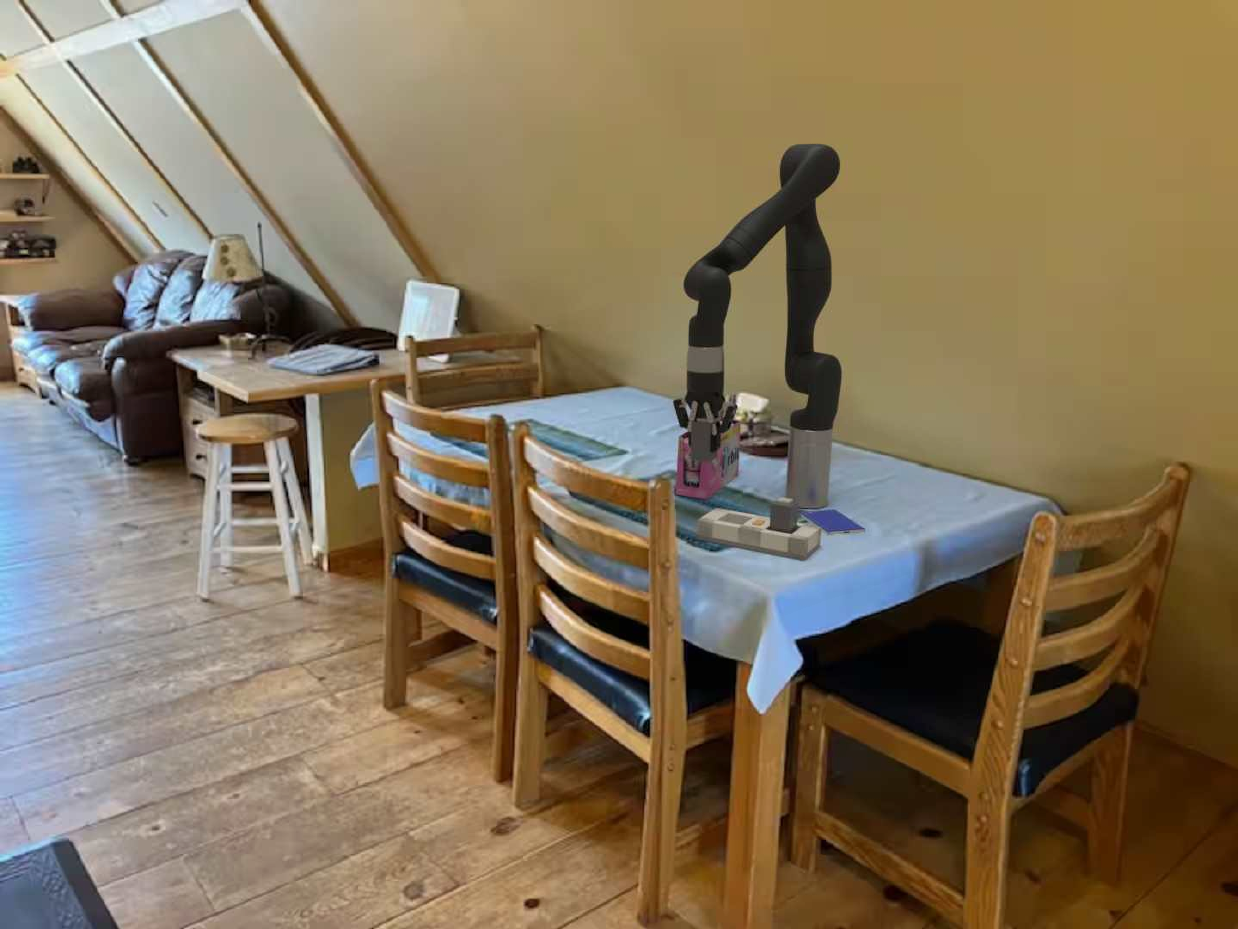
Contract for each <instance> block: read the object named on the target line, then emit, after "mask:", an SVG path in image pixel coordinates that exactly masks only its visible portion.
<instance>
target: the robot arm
mask: <svg viewBox="0 0 1238 929" xmlns="http://www.w3.org/2000/svg"><path fill="white" fill-rule="evenodd" d="M839 156H840V155H839V154H838V153H837V151H836V150H835V149H834V148H833V147H832V146H829V145H827V144H822V143H800V144H799V143H797V144H794V145H791V146H790V147H788V148H787V149H786V150H785V152H784V153H783V154H782V157H781V159H780V164H779V182H780V189H779V190H778V191H777V192H776V193H775V194H773V196H771V197H770V198H769V199H767V200H766V201H764V202H763V203H762V204H760V205H759V206H757V207H755V208H754V209H753V210H752V211H750V212H749V213H748V214H746V215H745V216H744V217H743V218H741V219H740V220H739V221H738V222H737V224H735V226H734V227H733V228H732V229H731V230H730V231H729V233H727V235H726V236H725V237H724V238H723V239H722V241H721V242H720V243H719V244H718V245H716V246H715V247H713V248H712V249H710V251H709V252H707V253H706V254H705V255H703V256H702V257H701V258H700V259H698V260H697V261H696V262H695V263H694V264H693V265H692V266H691V267H690V268H689V269H688V271H687V273H686V274H685V277H684V278H683V279H684V280H683V290H684V293H685V294H686V296H687V297H688V298H690V300H694V301H696V302H698V304H697V311H696V314H695V315H694V316H692V317H691V318H690V319H689V322H688V332H687V333H688V335H687V336H688V339H687V340H688V343H687V344H688V346H687V353H686V363H685V364H686V394H685V396H684V397H678V398H676V399H674V400H673V401H672V405H673V408H674V412H675V415H676V419H677V421H678V424H679V427H680V428H681V429H686V430H687V431H688V444H689V446H690V448H691V421H696V420H697V418H698V417H705V418H707V420H708V423H710V424H711V433H712V435H711V452H716V451H718V449H719V448H720V446H721V444H720V443H721V433H724V432H726V431H728V430H729V429H730V427H731V424H732V422H733V420H735V419H734V418H735V415H736V414H737V413H736V412H737V410H738V405H737V404H736V403H733V404H732V403H730V402H728V401H726V398H725V396H724V391H725V390H724V389H725V362H726V361H725V348H724V347H725V346H724V342H725V328H724V326H725V321H726V318H727V315H728V311H729V307H730V303H731V299H732V298H731V297H732V283H731V280H730V275H732V274H733V273H736V272H740V271H743V270H744V269H746V268H747V267H748V266H749V265H750V264H751V263H752V262H753V260H754V259H755V258H756V257H757V256H758V255H759V254H760V252H762V250H763V249H765V246H767V244H768V243H769V242H770V241H771V240H772V239H773V238H774V237H775V236H776V235H777V234H778V233H779V232H780V231H781V230H782V229H783V228H784V231H785V232H784V233H785V237H784V238H785V253H786V254H785V274H786V275H785V276H786V277H785V279H786V282H785V283H786V297H787V303H786V304H787V308H786V309H787V310H786V312H787V314H786V316H787V318H786V320H787V326H786V327H787V328H786V329H787V330H786V341H785V342H786V343H785V344H786V345H785V357H784V377H785V382H786V384H787V387H788V388H789V389H790V390H791V391H793V392H796V393H799V394H803V395H807V401H806V402H807V403H806V406H805V407H803V408H800V409H796V410H793V411H792V412H791V413H790V417H789V429H788V430H789V431H788V432H789V433H788V445H787V446H788V450H787V462H786V463H787V465H786V482H785V494H784V495H785V497H784V498H789V499H793V501H797V502H799V503H798V508H802V509H820V508H824V507H826V506H827V505H828V504H829V503H828V500H829V490H830V489H829V488H830V478H831V477H830V476H831V475H830V474H831V463H832V462H831V461H832V449H833V433H834V422H835V420H836V417H837V413H838V411H839V403H840V394H841V387H842V375H843V371H842V365H841V362H840V360H839V359H838V357H836V356H835V355H833V354H830V353H829V354H828V353H823V352H818V351H815V347H814V346H815V345H814V343H815V342H814V340H815V339H814V338H815V336H814V335H815V334H814V333H815V326H816V325H817V320H818V318H819V316H820V315H821V312H822V311H823V309H824V307H825V305H826V304H827V301H828V299H829V297H830V294H831V290H832V280H833V277H832V275H833V272H832V270H833V269H832V268H833V266H832V263H833V262H832V255H831V251H830V249H829V245H828V242H827V240H826V237H825V235H824V233H823V230H822V227H821V225H820V223H819V219H818V215H817V214H818V213H817V202H816V201H817V198H819V197H820V196H821V195H822V194H823V193H825V192H826V191H827V190H828V189H829V188H830V187H832V186H833V185H834V183H835V181H836V180H837V179H838V177H839V175H840V171H841V159H840V157H839ZM687 406H688V407H689V409H690V413H689V415H688V410H687ZM722 408H723V413H724V415H723V418H721V415H720V414H721V413H720V411H721V410H722ZM721 419H723V421H722V424H721V423H720V420H721Z"/></svg>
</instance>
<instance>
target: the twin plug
mask: <svg viewBox="0 0 1238 929" xmlns="http://www.w3.org/2000/svg"><path fill="white" fill-rule="evenodd" d="M798 503H799V502H797V501H793V499H789V498H785V497H779V498H777V499H776V500H774V501H773V502H772V503H770V512H769V513H770V514H769V516H770V529H769V530H772V531H777V532H782V533H788V534H793V533H794V532H795V531H796V530H797V522H798V515H799V507H798Z"/></svg>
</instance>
